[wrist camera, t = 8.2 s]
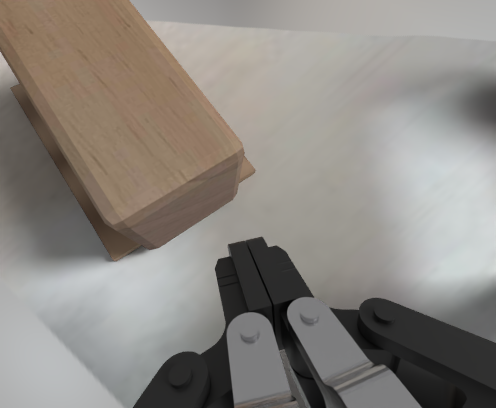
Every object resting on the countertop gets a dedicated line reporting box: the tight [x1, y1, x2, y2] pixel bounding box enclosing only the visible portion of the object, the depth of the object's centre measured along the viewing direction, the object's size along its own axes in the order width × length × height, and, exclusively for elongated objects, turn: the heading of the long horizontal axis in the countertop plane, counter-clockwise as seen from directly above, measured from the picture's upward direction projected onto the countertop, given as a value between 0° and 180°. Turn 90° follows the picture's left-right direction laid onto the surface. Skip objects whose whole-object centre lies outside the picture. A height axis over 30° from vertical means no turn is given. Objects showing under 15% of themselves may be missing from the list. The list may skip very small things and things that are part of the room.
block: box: [0, 0, 244, 250], centre depth 22 cm, size 10×10×20 cm
